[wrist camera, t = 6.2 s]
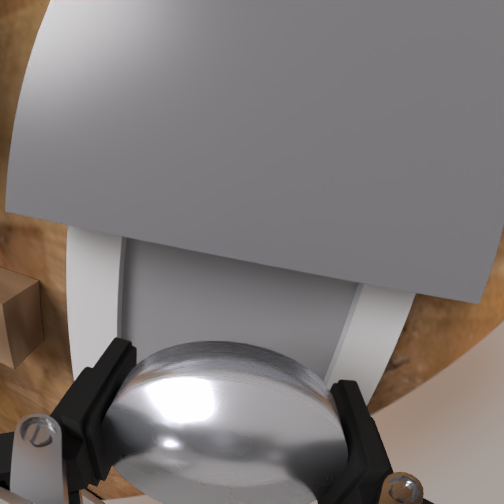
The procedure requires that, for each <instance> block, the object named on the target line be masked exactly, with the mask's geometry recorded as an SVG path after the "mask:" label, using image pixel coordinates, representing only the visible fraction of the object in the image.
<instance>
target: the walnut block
mask: <svg viewBox="0 0 504 504" xmlns="http://www.w3.org/2000/svg"><path fill="white" fill-rule="evenodd" d="M43 341H44V333H43V324H42V314H41V303H40V288H39V280H36V279H33V278H30V277H27V276H24V275H21V274H18V273H15V272H12V271H9V270H6V269H4V268H1V267H0V362H1V363H3V364H5V365H7V366H9V367H11V368H13V369H15V368H16V367H17V366H18V365H19V364H20V363H21V362H22V361H23V360H24V359H25V358H26V357H27V356H28V355H29V354H30V353H31V352H32V351H33V350H34V349H35V348H36V347H37V346H38V345H39V344H41V343H42V342H43Z"/></svg>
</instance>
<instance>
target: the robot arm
mask: <svg viewBox="0 0 504 504" xmlns="http://www.w3.org/2000/svg"><path fill="white" fill-rule="evenodd" d="M136 365H137V348H136V347H134V346H132V342H131V341H128V340H125V339H121V338H118V337H115V338H114V339H113V341H112V342H111V343H110V345H109V346H108V347H107V349H106V350H105V352H104V353H103V354H102V356H101V357H100V359H99V360H98V361H97V363H96V364H95V366H94V367H93V368H91V367H85V368H84V369H83V370H82V372H81V373H80V374H79V376H78V377H77V378H76V380H75V381H74V383H73V384H72V385H71V387H70V388H69V390H68V391H67V392H66V394H65V395H64V397H63V398H62V399H61V401H60V402H59V404H58V405H57V406H56V408H55V409H54V411H53V412H52V414H51V415H50V416H48V415H45V414H41V413H32V414H29V415H26V416H24V417H23V418H21V419H20V420H19V422H18V423H17V425H16V428H15V432H9V433H3V434H0V504H105V503H104V502H102V501H101V500H100V499H99V498H97V497H96V496H94V495H93V494H92V493H90V492H89V491H87V490H85V489H86V488H87V487H88V484H91V485H94V486H98V484H99V481H100V480H103V481H105V480H106V478H107V476H108V473H109V471H110V468H111V466H112V464H111V462H110V461H109V459H108V457H107V453H106V448H105V443H104V437H103V432H102V426H101V425H102V422H103V419H104V417H105V415H106V413H107V411H108V409H109V407H110V405H111V403H112V402H113V400H114V398H115V396H116V394H117V392H118V391H119V389H120V387H121V385H122V383H123V382H124V380H125V378H126V377H127V375H128V374H129V372H130V371H131V370H132V369H133V368H134V367H135V366H136ZM330 392H331V394H332V396H333V398H334V401H335V404H336V407H337V411H338V414H339V418H340V421H341V425H342V429H343V433H344V436H345V440H346V444H347V449H348V460H347V465H346V467H345V469H344V470H343V471H342V473H341V474H340V476H339V477H338V478H337V480H336V481H335V482H334V484H333V485H332V486H331V487H330V489H329V490H328V491H327V493H326V494H324V495H323V496H321V497H320V498H318V499H317V501H318V504H434V503H432V502H430V501H428V500H426V499H424V498H423V487H422V485H421V483H420V481H419V480H418V479H417V478H415V477H414V476H413V475H411V474H408V473H403V472H397V473H393V470H392V467H391V464H390V461H389V459H388V456H387V453H386V450H385V448H384V445H383V442H382V440H381V438H380V434H379V432H378V429H377V427H376V424H375V421H374V420H373V418H372V417H370V414H369V412H368V409H367V406H366V404H365V401H364V399H363V396H362V394H361V391H360V389H359V386H358V384H357V382H356V381H354V380H343V379H341V380H339V381H338V383H334V384H333V385H332V387H331V389H330Z"/></svg>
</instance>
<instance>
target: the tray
mask: <svg viewBox="0 0 504 504" xmlns="http://www.w3.org/2000/svg"><path fill="white" fill-rule="evenodd" d="M66 287H67V314H68V329H69V341H70V352H71V361H72V369H73V376H74V381H75V380H76V378H77V377H78V376H79V374H80V373H81V372H82V370H83V369H84V368H85V367H91V368H93V367H94V366H95V364H96V363H97V361H98V360H99V359H100V357H101V356H102V354H103V353H104V352H105V350H106V349H107V347H108V346H109V345H110V343H111V342H112V341H113V339H114V338H115V337H118V338H121V339H125V340H128V341H131V342H132V346H134V347H136V348H137V364H138V363H139V362H140V361H142V360H143V359H145V358H146V357H148V356H149V355H151V354H153V353H155V352H158V351H160V350H162V349H165V348H168V347H171V346H175V345H178V344H184V343H190V342H199V341H230V342H238V343H246V344H250V345H255V346H259V347H263V348H267V349H270V350H272V351H275V352H278V353H281V354H283V355H285V356H287V357H290V358H292V359H294V360H296V361H297V362H299V363H301V364H302V365H304V366H305V367H307V368H308V369H310V370H311V371H312V372H313V373H314V374H316V375H317V376H318V377H319V378H320V379H321V380H322V381H323V383H324V384H325V385H326V386H327V388H328V389H329V391H330V389H331V387H332V385H333V384H334V383H338V381H339V380H341V379H343V380H354V381H356V382H357V384H358V386H359V389H360V391H361V394H362V396H363V399H364V401H365V404H366V406H367V405H368V403H369V401H370V399H371V397H372V395H373V393H374V391H375V389H376V387H377V385H378V383H379V381H380V379H381V377H382V374H383V372H384V370H385V368H386V366H387V364H388V362H389V359H390V357H391V355H392V353H393V350H394V348H395V346H396V343H397V341H398V339H399V336H400V334H401V331H402V329H403V326H404V324H405V321H406V319H407V316H408V313H409V311H410V308H411V305H412V303H413V300H414V297H415V294H416V293H413V292H408V291H402V290H397V289H391V288H386V287H380V286H375V285H369V284H364V283H359V282H353V281H348V280H343V279H337V278H332V277H327V276H321V275H316V274H311V273H306V272H300V271H295V270H290V269H285V268H280V267H274V266H269V265H264V264H259V263H254V262H249V261H243V260H238V259H233V258H228V257H223V256H218V255H213V254H208V253H203V252H198V251H193V250H188V249H183V248H178V247H173V246H168V245H163V244H158V243H153V242H148V241H143V240H138V239H133V238H128V237H124V236H119V235H114V234H109V233H104V232H99V231H94V230H90V229H85V228H80V227H75V226H70V225H68V229H67V256H66Z"/></svg>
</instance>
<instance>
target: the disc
mask: <svg viewBox="0 0 504 504" xmlns="http://www.w3.org/2000/svg"><path fill="white" fill-rule="evenodd" d="M101 426H102V432H103V437H104V443H105V448H106V453H107V457H108V459H109V461H110V462H111V464H112V465H113V466H114V468H115V469H116V470H117V471H118V472H119V473H120V475H121V476H122V477H124V478H125V479H126V480H127V481H128V482H129V483H130V484H132V485H133V486H134V487H136V488H137V489H138V490H140V491H141V492H143V493H145V494H146V495H148V496H150V497H151V498H153V499H155V500H157V501H159V502H162V503H164V504H309V503H311V502H313V501H315V500H317V499H318V498H320V497H321V496H323V495H324V494H326V493H327V491H328V490H329V489H330V487H331V486H332V485H333V484H334V482H335V481H336V480H337V478H338V477H339V476H340V474H341V473H342V471H343V470H344V469H345V467H346V465H347V460H348V449H347V444H346V440H345V436H344V433H343V429H342V425H341V421H340V418H339V414H338V411H337V407H336V404H335V401H334V398H333V396H332V394H331V392H330V391H329V389H328V388H327V386H326V385H325V384H324V383H323V381H322V380H321V379H320V378H319V377H318V376H317V375H316V374H314V373H313V372H312V371H311V370H310V369H308V368H307V367H305V366H304V365H302V364H301V363H299V362H297V361H296V360H294V359H292V358H290V357H287V356H285V355H283V354H281V353H278V352H275V351H272V350H270V349H267V348H263V347H259V346H255V345H250V344H246V343H238V342H230V341H199V342H190V343H184V344H178V345H175V346H171V347H168V348H165V349H162V350H160V351H158V352H155V353H153V354H151V355H149V356H148V357H146V358H145V359H143V360H142V361H140V362H139V363H138V364H137V365H136V366H135V367H134V368H133V369H132V370H131V371H130V372H129V374H128V375H127V377H126V378H125V380H124V382H123V383H122V385H121V387H120V389H119V391H118V392H117V394H116V396H115V398H114V400H113V402H112V403H111V405H110V407H109V409H108V411H107V413H106V415H105V417H104V419H103V422H102V425H101Z"/></svg>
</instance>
